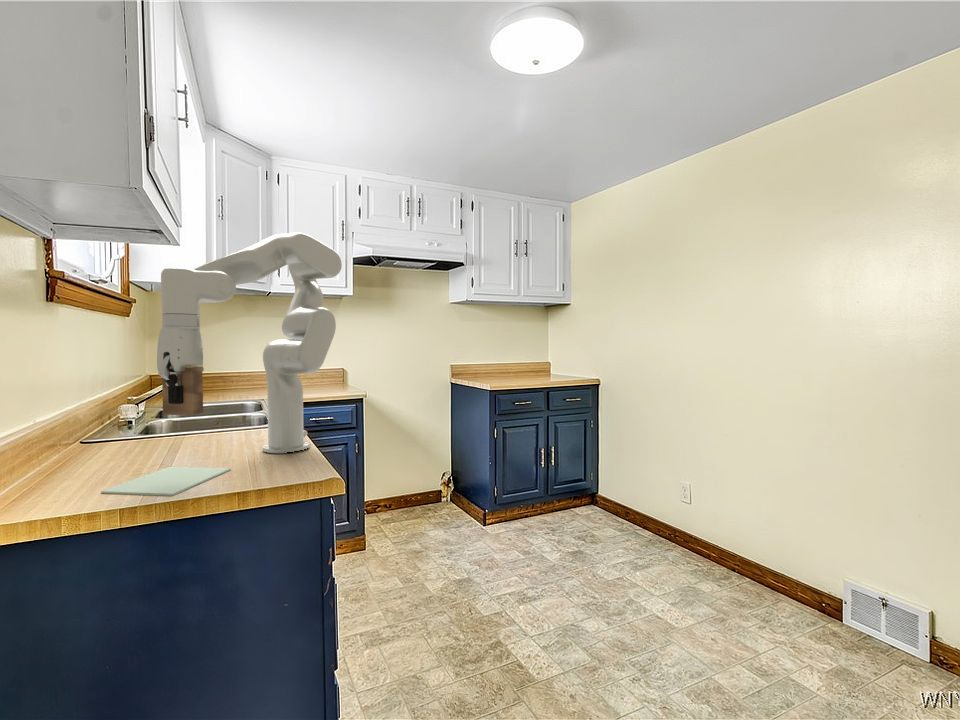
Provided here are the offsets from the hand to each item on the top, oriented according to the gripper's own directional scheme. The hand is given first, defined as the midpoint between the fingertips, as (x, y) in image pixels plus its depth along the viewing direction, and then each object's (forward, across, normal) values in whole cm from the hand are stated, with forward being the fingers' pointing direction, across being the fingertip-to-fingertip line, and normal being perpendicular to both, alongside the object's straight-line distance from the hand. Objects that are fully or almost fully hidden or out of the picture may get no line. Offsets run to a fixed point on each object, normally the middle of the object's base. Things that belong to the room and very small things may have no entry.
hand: (183, 401), depth 118 cm
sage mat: (+17, +4, 0) cm, 18 cm away
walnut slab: (+3, 0, 0) cm, 3 cm away
